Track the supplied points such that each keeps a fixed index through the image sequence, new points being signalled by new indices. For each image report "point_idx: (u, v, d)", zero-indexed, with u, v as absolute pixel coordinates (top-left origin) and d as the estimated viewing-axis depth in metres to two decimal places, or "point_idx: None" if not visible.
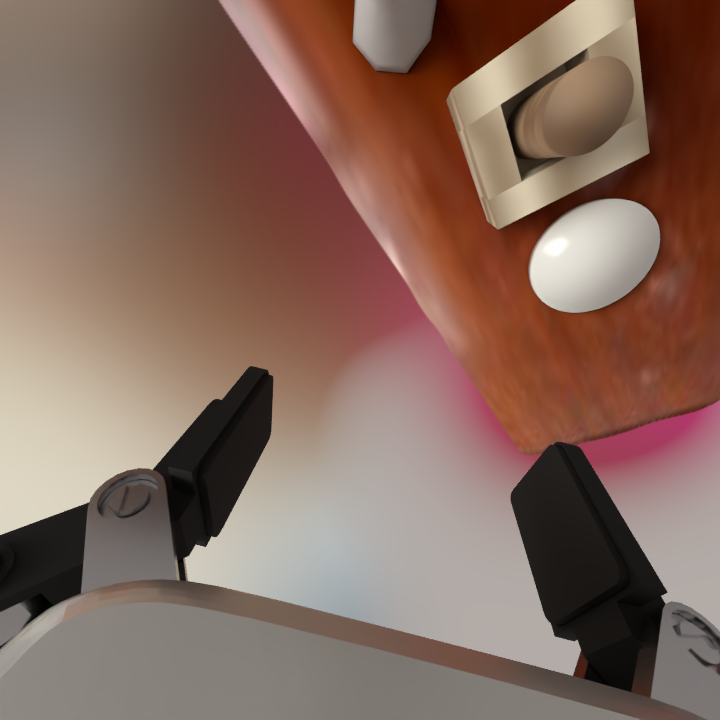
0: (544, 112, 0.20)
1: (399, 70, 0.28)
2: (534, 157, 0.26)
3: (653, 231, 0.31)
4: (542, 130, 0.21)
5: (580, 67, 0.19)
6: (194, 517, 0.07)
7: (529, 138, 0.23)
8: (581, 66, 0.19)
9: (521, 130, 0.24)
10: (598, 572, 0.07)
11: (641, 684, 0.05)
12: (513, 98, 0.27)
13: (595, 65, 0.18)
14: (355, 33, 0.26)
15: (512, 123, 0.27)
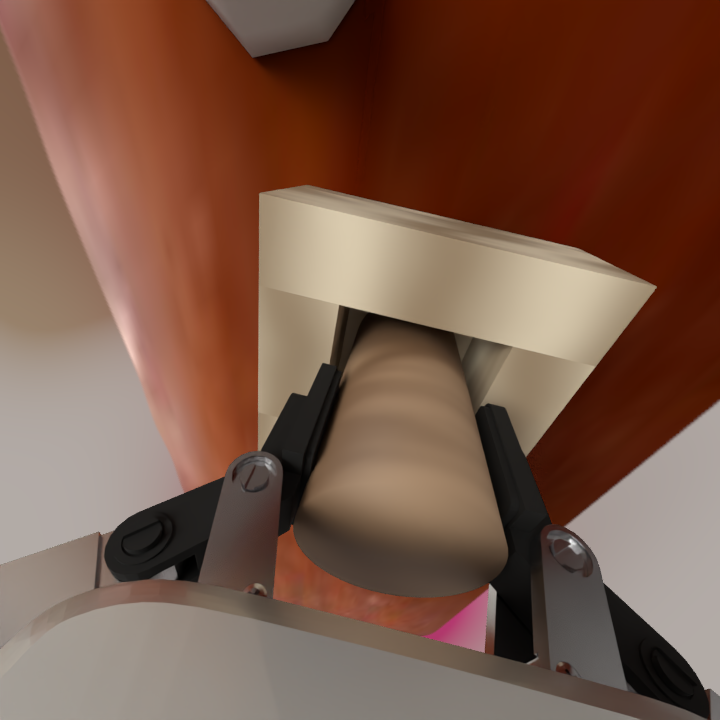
0: (312, 493, 0.07)
1: (236, 33, 0.11)
2: None
3: None
4: (299, 505, 0.07)
5: (426, 494, 0.06)
6: (296, 495, 0.08)
7: None
8: (428, 495, 0.06)
9: (341, 379, 0.11)
10: (498, 505, 0.08)
11: (538, 620, 0.06)
12: None
13: (456, 513, 0.06)
14: None
15: (364, 329, 0.13)
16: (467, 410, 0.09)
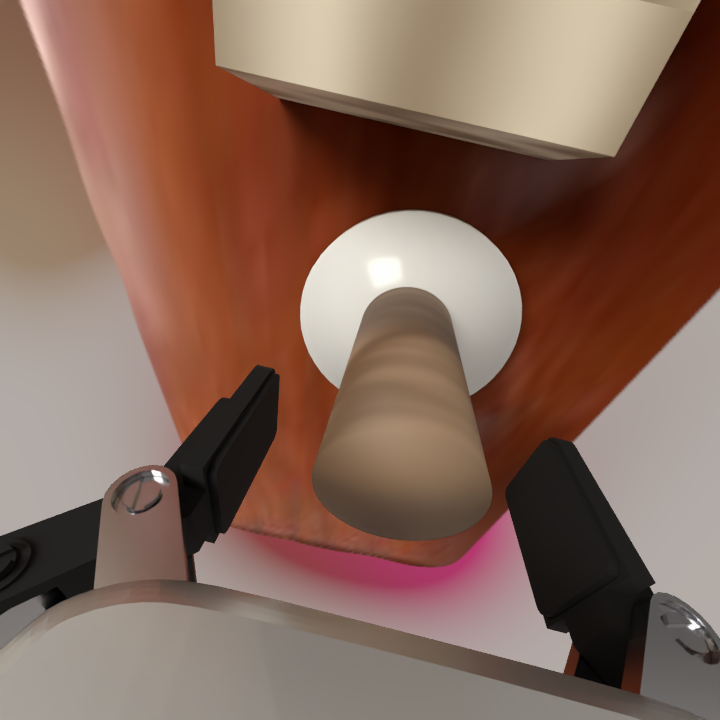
0: (329, 443, 0.08)
1: None
2: None
3: (504, 347, 0.17)
4: None
5: (424, 439, 0.07)
6: (204, 513, 0.07)
7: None
8: (426, 440, 0.07)
9: (349, 358, 0.12)
10: (588, 564, 0.07)
11: (631, 676, 0.05)
12: None
13: (449, 456, 0.07)
14: None
15: (369, 314, 0.15)
16: (460, 381, 0.10)
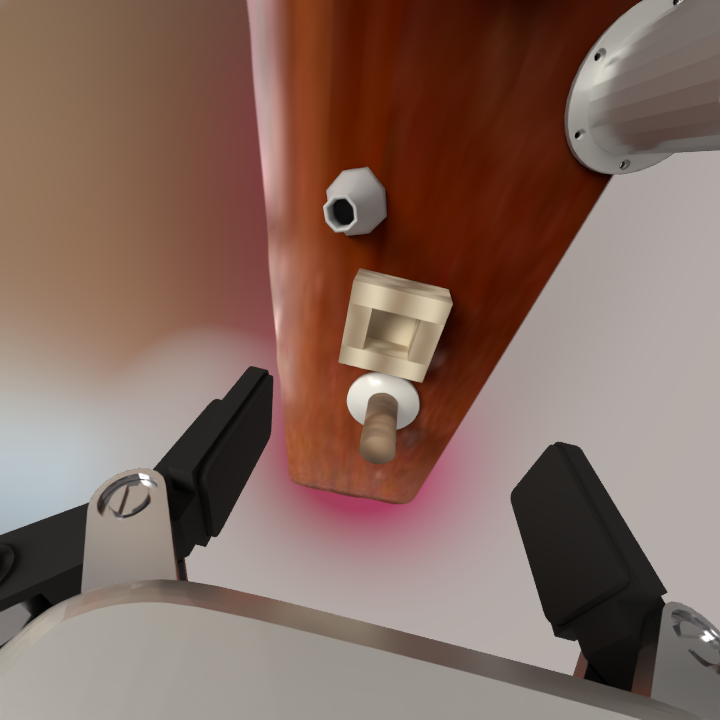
0: (363, 441, 0.41)
1: None
2: None
3: (415, 410, 0.50)
4: (360, 444, 0.42)
5: (381, 440, 0.41)
6: (194, 517, 0.07)
7: None
8: (381, 440, 0.41)
9: (365, 418, 0.46)
10: (598, 572, 0.07)
11: (641, 684, 0.05)
12: None
13: (385, 443, 0.41)
14: (327, 192, 0.34)
15: (370, 403, 0.48)
16: (392, 427, 0.43)
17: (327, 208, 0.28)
